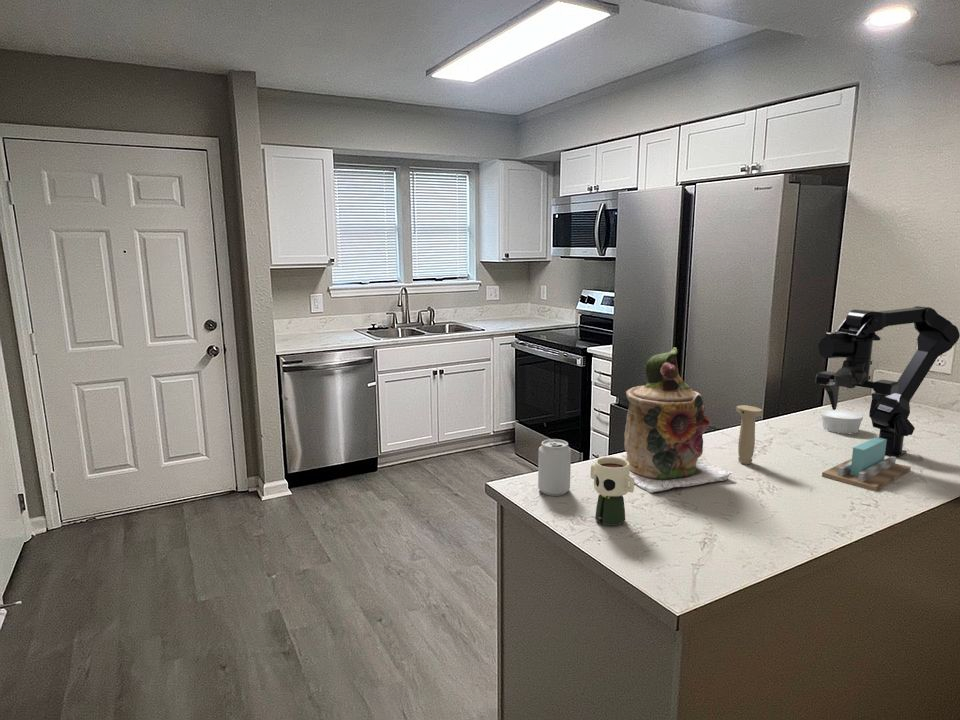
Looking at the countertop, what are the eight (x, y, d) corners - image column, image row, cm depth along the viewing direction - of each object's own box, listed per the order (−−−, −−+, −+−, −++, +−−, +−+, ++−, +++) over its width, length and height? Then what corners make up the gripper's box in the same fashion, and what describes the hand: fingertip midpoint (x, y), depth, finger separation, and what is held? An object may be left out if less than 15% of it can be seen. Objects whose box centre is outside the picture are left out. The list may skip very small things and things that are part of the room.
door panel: (873, 462, 159) (876, 436, 158) (883, 465, 157) (886, 439, 156) (850, 474, 151) (853, 447, 150) (860, 477, 149) (863, 450, 148)
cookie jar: (594, 462, 163) (598, 344, 158) (669, 451, 172) (675, 339, 167) (653, 496, 141) (660, 360, 135) (735, 481, 150) (744, 353, 144)
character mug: (579, 517, 130) (580, 459, 127) (600, 508, 134) (602, 452, 132) (620, 535, 121) (623, 473, 119) (642, 525, 126) (644, 465, 124)
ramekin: (811, 427, 194) (813, 411, 193) (835, 423, 199) (836, 408, 198) (845, 437, 184) (847, 420, 183) (868, 432, 189) (870, 416, 188)
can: (549, 499, 139) (550, 449, 137) (532, 488, 145) (532, 440, 143) (576, 493, 142) (577, 444, 140) (558, 482, 149) (559, 435, 147)
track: (859, 458, 166) (860, 447, 165) (910, 470, 156) (911, 459, 156) (821, 476, 153) (823, 464, 152) (875, 491, 143) (876, 478, 143)
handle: (749, 468, 159) (753, 412, 156) (728, 460, 164) (732, 406, 161) (761, 464, 161) (766, 409, 158) (740, 457, 166) (744, 404, 164)
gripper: (808, 355, 166) (802, 410, 168) (885, 365, 151) (878, 426, 154) (827, 351, 172) (821, 404, 175) (902, 360, 158) (895, 418, 160)
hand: (852, 413), depth 166 cm, fingers open, 9 cm apart
